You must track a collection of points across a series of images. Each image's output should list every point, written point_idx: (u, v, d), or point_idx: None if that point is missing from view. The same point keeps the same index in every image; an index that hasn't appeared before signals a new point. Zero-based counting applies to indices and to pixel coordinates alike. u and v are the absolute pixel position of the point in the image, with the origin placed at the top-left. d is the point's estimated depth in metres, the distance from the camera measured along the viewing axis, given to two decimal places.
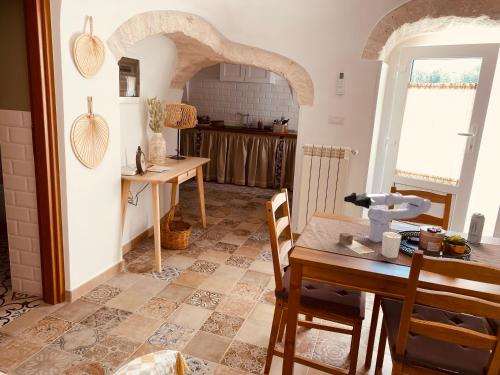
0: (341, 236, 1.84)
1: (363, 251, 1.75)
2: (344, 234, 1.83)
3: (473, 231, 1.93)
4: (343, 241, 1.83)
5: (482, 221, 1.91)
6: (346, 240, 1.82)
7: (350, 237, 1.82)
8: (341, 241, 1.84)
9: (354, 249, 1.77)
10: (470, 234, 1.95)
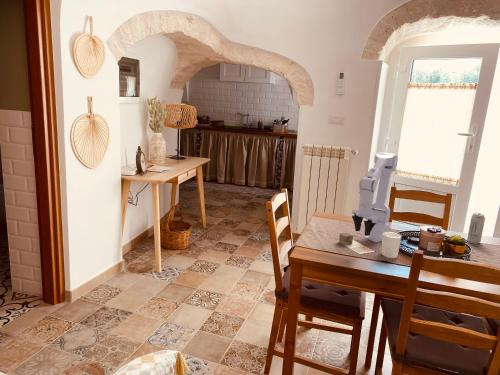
0: (341, 236, 1.84)
1: (363, 251, 1.75)
2: (344, 234, 1.83)
3: (473, 231, 1.93)
4: (343, 241, 1.83)
5: (482, 221, 1.91)
6: (346, 240, 1.82)
7: (350, 237, 1.82)
8: (341, 241, 1.84)
9: (354, 249, 1.77)
10: (470, 234, 1.95)
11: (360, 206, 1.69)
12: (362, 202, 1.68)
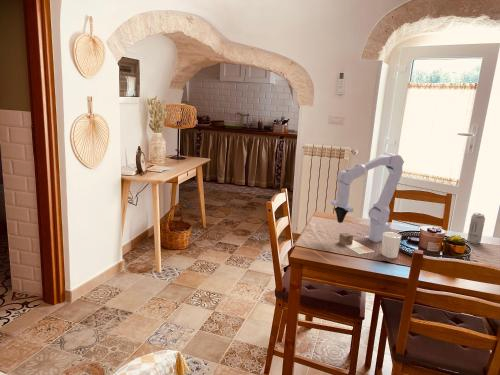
0: (341, 236, 1.84)
1: (363, 251, 1.75)
2: (344, 234, 1.83)
3: (473, 231, 1.93)
4: (343, 241, 1.83)
5: (482, 221, 1.91)
6: (346, 240, 1.82)
7: (350, 237, 1.82)
8: (341, 241, 1.84)
9: (354, 249, 1.77)
10: (470, 234, 1.95)
11: (338, 197, 1.83)
12: (337, 192, 1.84)
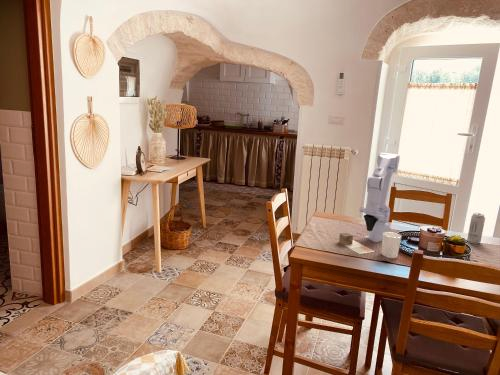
0: (341, 236, 1.84)
1: (363, 251, 1.75)
2: (344, 234, 1.83)
3: (473, 231, 1.93)
4: (343, 241, 1.83)
5: (482, 221, 1.91)
6: (346, 240, 1.82)
7: (350, 237, 1.82)
8: (341, 241, 1.84)
9: (354, 249, 1.77)
10: (470, 234, 1.95)
11: (368, 204, 1.73)
12: (370, 200, 1.72)
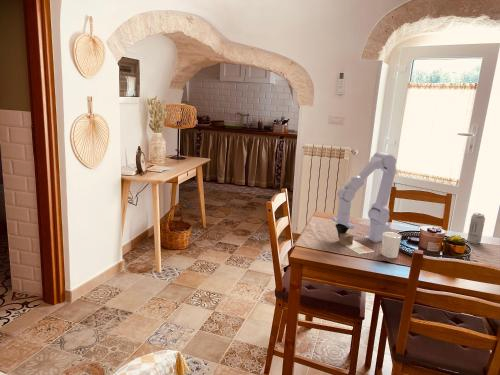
0: (341, 236, 1.84)
1: (363, 251, 1.75)
2: (344, 235, 1.83)
3: (473, 231, 1.93)
4: (343, 241, 1.83)
5: (482, 221, 1.91)
6: (346, 240, 1.82)
7: (350, 237, 1.82)
8: (341, 241, 1.84)
9: (354, 249, 1.77)
10: (470, 234, 1.95)
11: (339, 214, 1.84)
12: (338, 209, 1.84)
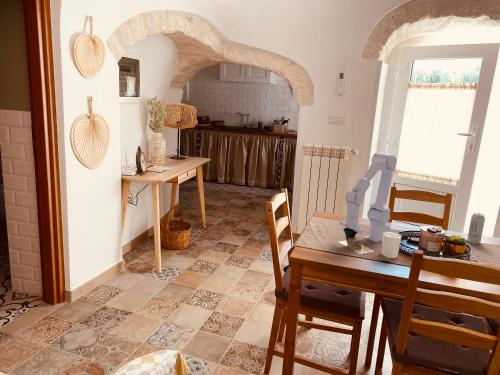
0: (349, 241, 1.78)
1: (363, 251, 1.75)
2: (352, 239, 1.77)
3: (473, 231, 1.93)
4: (352, 246, 1.77)
5: (482, 221, 1.91)
6: (354, 245, 1.76)
7: (359, 242, 1.77)
8: (349, 246, 1.78)
9: None
10: (470, 234, 1.95)
11: (347, 218, 1.78)
12: (347, 213, 1.78)
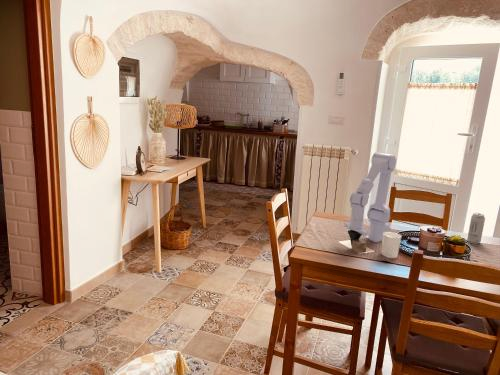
0: (354, 243, 1.75)
1: None
2: (357, 242, 1.74)
3: (473, 231, 1.93)
4: (356, 248, 1.74)
5: (482, 221, 1.91)
6: (359, 248, 1.73)
7: (364, 244, 1.74)
8: (354, 248, 1.75)
9: None
10: (470, 234, 1.95)
11: (351, 220, 1.75)
12: (352, 216, 1.75)
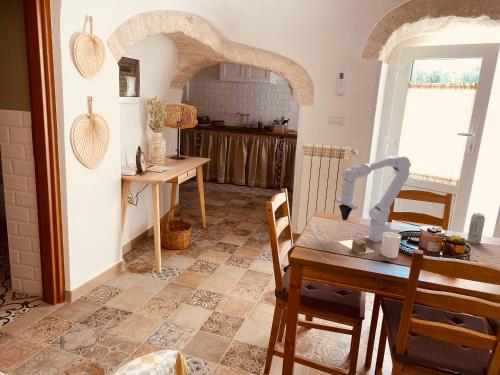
0: (354, 243, 1.75)
1: None
2: (357, 242, 1.74)
3: (473, 231, 1.93)
4: (356, 248, 1.74)
5: (482, 221, 1.91)
6: (359, 248, 1.73)
7: (364, 244, 1.74)
8: (354, 248, 1.75)
9: None
10: (470, 234, 1.95)
11: (342, 195, 1.87)
12: None
